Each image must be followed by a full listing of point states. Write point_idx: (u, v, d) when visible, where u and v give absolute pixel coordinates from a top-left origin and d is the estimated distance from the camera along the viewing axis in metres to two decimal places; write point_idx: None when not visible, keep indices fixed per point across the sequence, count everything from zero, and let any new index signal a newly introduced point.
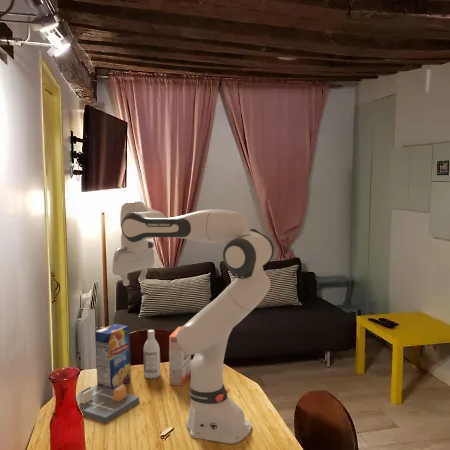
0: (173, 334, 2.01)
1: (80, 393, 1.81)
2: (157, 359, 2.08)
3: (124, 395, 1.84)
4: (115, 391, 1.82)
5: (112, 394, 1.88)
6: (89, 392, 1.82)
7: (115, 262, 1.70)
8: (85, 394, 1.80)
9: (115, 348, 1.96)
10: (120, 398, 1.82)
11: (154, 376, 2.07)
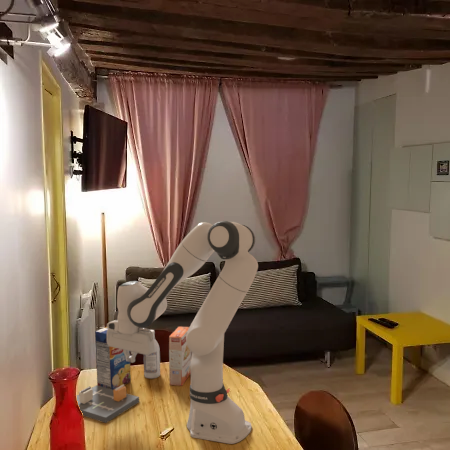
0: (173, 334, 2.01)
1: (80, 393, 1.81)
2: (157, 359, 2.08)
3: (124, 395, 1.84)
4: (115, 391, 1.82)
5: (112, 394, 1.88)
6: (89, 392, 1.82)
7: (150, 342, 1.73)
8: (85, 394, 1.80)
9: (115, 348, 1.96)
10: (120, 398, 1.82)
11: (154, 376, 2.07)
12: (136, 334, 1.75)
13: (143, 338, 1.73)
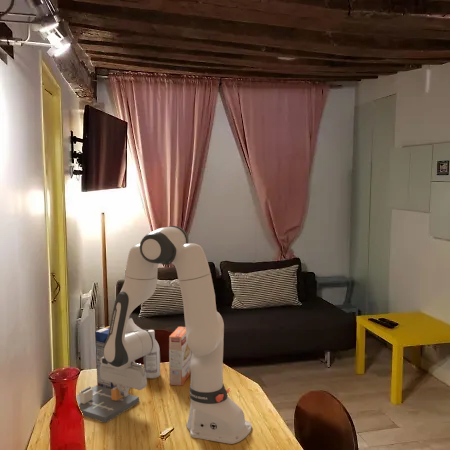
0: (173, 334, 2.01)
1: (80, 393, 1.81)
2: (157, 359, 2.08)
3: None
4: (113, 390, 1.82)
5: None
6: (89, 392, 1.82)
7: (143, 377, 1.77)
8: (85, 394, 1.80)
9: None
10: (118, 397, 1.83)
11: (154, 376, 2.07)
12: (129, 369, 1.78)
13: (135, 373, 1.76)
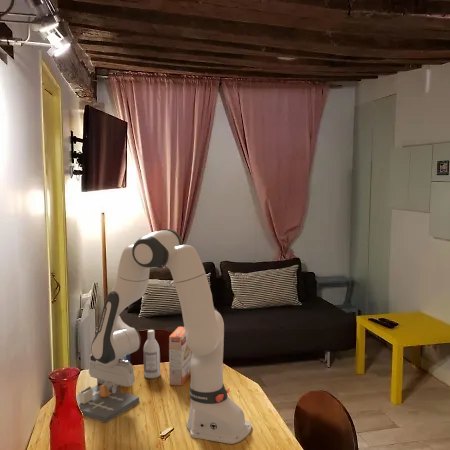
0: (173, 334, 2.01)
1: (80, 393, 1.81)
2: (157, 359, 2.08)
3: None
4: (101, 387, 1.85)
5: (112, 394, 1.88)
6: (89, 392, 1.82)
7: (130, 374, 1.80)
8: (85, 394, 1.80)
9: None
10: (106, 394, 1.86)
11: (154, 376, 2.07)
12: (116, 366, 1.81)
13: (123, 370, 1.79)
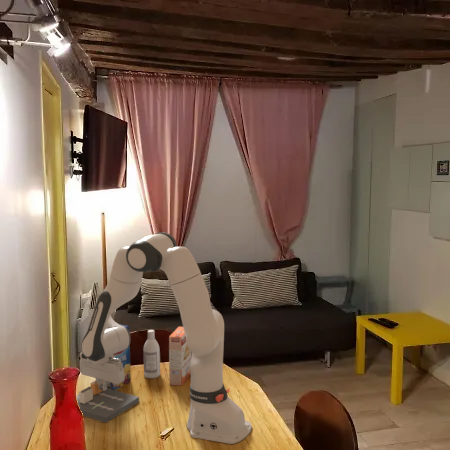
0: (173, 334, 2.01)
1: (80, 393, 1.81)
2: (157, 359, 2.08)
3: None
4: (92, 385, 1.88)
5: (112, 394, 1.88)
6: (89, 392, 1.82)
7: (120, 371, 1.82)
8: (85, 394, 1.80)
9: None
10: (97, 391, 1.88)
11: (154, 376, 2.07)
12: (107, 364, 1.83)
13: (113, 368, 1.82)
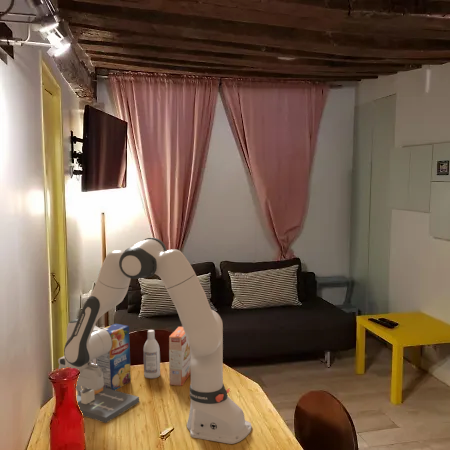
0: (173, 334, 2.01)
1: (82, 394, 1.80)
2: (157, 359, 2.08)
3: (101, 388, 1.90)
4: None
5: (112, 394, 1.88)
6: (91, 393, 1.82)
7: (99, 377, 1.78)
8: (87, 395, 1.80)
9: (115, 348, 1.96)
10: (97, 391, 1.88)
11: (154, 376, 2.07)
12: (85, 370, 1.79)
13: (92, 374, 1.77)
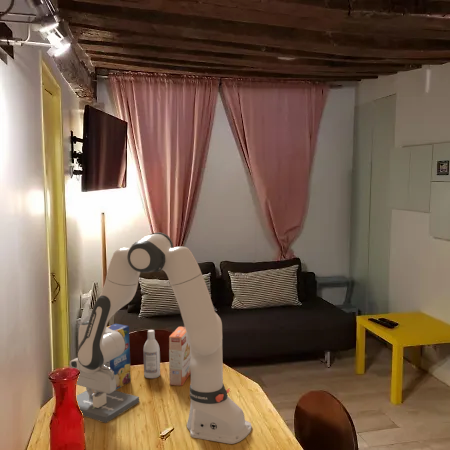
0: (173, 334, 2.01)
1: (94, 397, 1.77)
2: (157, 359, 2.08)
3: None
4: None
5: (112, 394, 1.88)
6: (103, 396, 1.79)
7: (111, 380, 1.75)
8: (99, 398, 1.77)
9: None
10: None
11: (154, 376, 2.07)
12: (98, 373, 1.76)
13: (104, 376, 1.74)
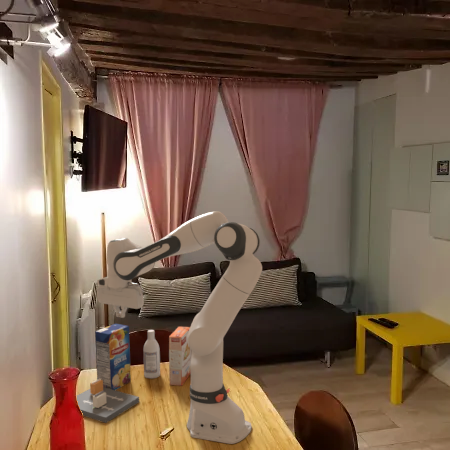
0: (173, 334, 2.01)
1: (94, 397, 1.77)
2: (157, 359, 2.08)
3: (101, 388, 1.90)
4: (92, 384, 1.88)
5: (112, 394, 1.88)
6: (103, 396, 1.79)
7: (139, 296, 1.78)
8: (99, 398, 1.77)
9: (115, 348, 1.96)
10: (97, 391, 1.88)
11: (154, 376, 2.07)
12: (125, 289, 1.79)
13: (132, 292, 1.78)
